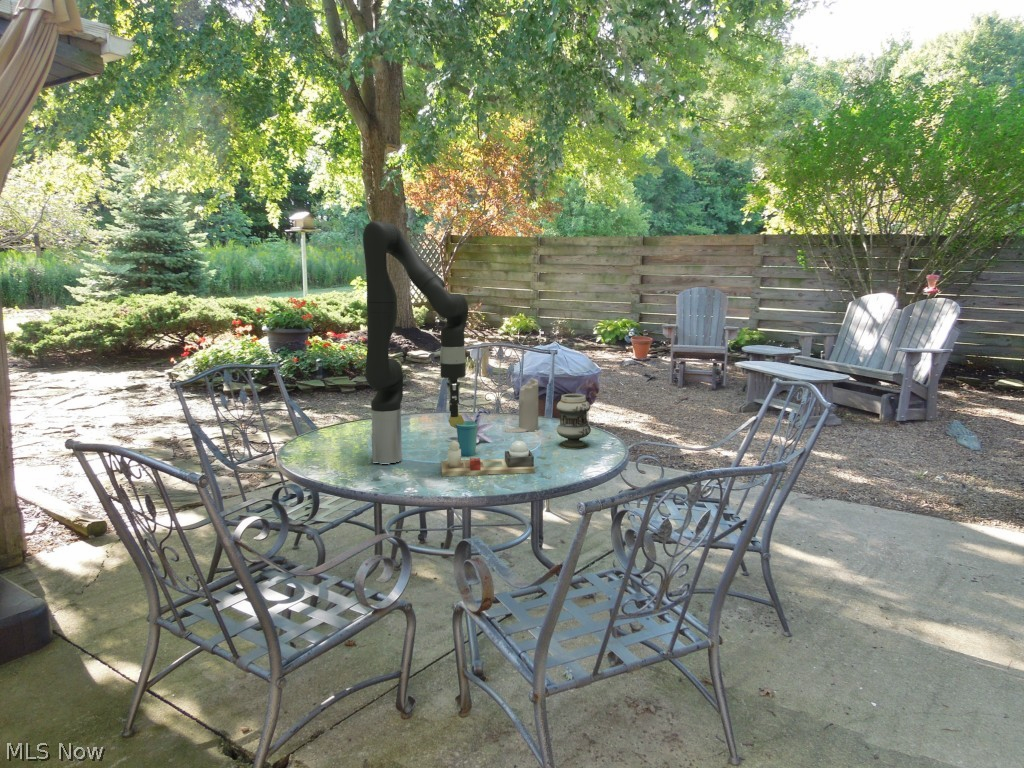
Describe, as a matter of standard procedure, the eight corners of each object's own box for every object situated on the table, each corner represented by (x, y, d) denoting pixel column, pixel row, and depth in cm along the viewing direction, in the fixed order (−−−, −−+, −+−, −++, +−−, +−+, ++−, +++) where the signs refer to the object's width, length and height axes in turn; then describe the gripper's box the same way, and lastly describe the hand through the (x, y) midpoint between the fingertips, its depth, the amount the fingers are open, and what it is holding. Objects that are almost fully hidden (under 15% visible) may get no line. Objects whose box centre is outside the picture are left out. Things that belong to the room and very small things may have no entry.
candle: (501, 429, 259) (500, 378, 256) (534, 427, 263) (534, 377, 260) (506, 433, 253) (506, 381, 249) (540, 430, 257) (541, 379, 254)
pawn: (448, 467, 202) (447, 442, 200) (447, 463, 205) (447, 439, 204) (461, 467, 202) (461, 442, 201) (460, 463, 206) (460, 439, 205)
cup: (489, 450, 228) (488, 407, 225) (492, 456, 220) (491, 412, 218) (448, 452, 226) (447, 408, 223) (450, 458, 218) (449, 413, 216)
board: (442, 476, 198) (441, 461, 197) (441, 465, 209) (440, 451, 209) (534, 473, 201) (534, 458, 200) (528, 462, 213) (528, 448, 212)
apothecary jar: (561, 440, 242) (561, 391, 239) (593, 442, 238) (594, 393, 235) (552, 448, 231) (552, 397, 228) (586, 450, 227) (587, 399, 224)
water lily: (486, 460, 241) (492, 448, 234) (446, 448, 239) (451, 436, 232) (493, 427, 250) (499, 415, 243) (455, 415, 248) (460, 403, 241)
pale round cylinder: (510, 462, 203) (510, 443, 202) (508, 457, 209) (508, 439, 208) (530, 461, 204) (530, 443, 203) (527, 456, 209) (527, 438, 208)
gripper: (467, 364, 192) (467, 418, 195) (464, 358, 206) (464, 409, 209) (440, 364, 191) (441, 419, 194) (439, 358, 205) (440, 410, 208)
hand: (453, 414), depth 201 cm, fingers open, 8 cm apart
